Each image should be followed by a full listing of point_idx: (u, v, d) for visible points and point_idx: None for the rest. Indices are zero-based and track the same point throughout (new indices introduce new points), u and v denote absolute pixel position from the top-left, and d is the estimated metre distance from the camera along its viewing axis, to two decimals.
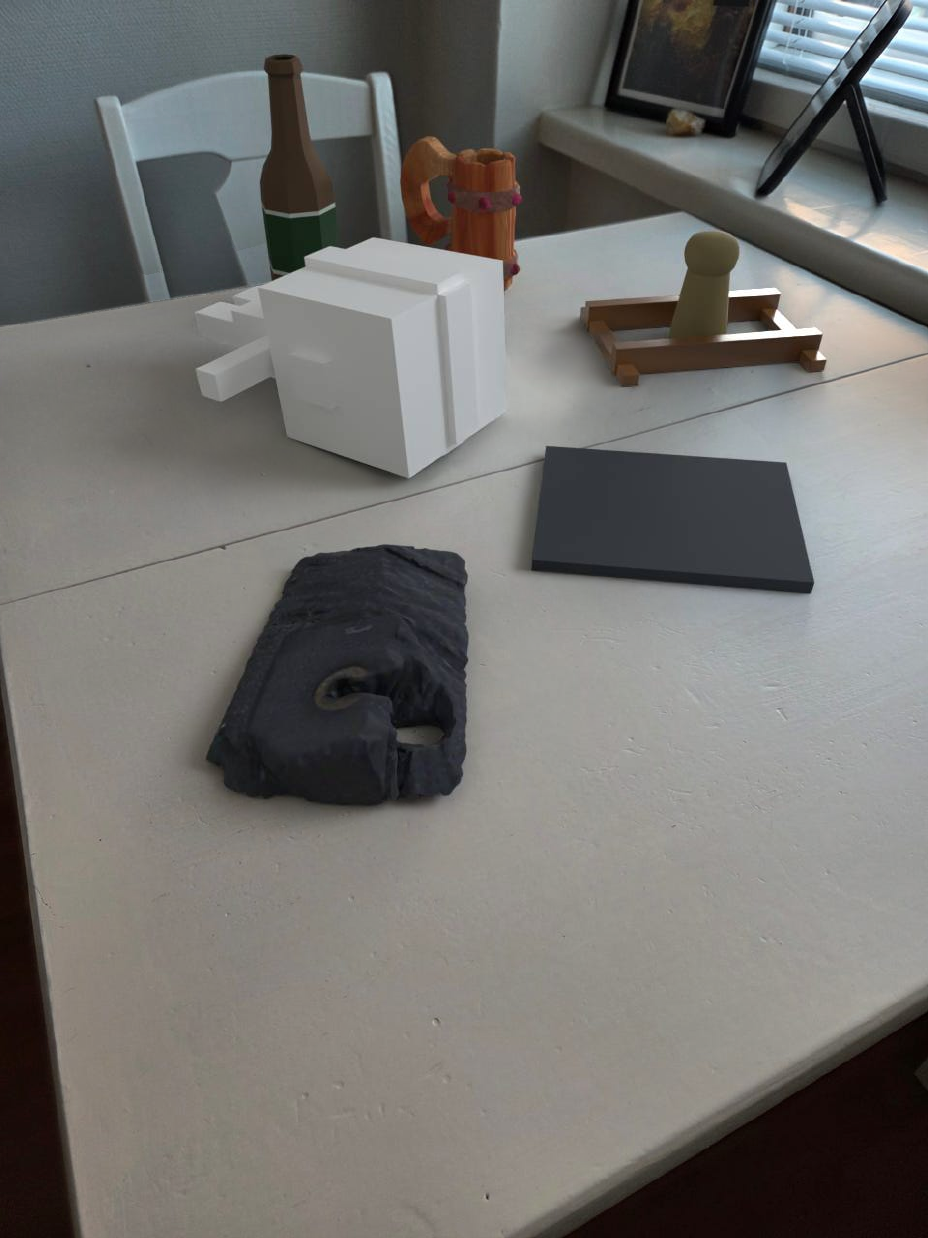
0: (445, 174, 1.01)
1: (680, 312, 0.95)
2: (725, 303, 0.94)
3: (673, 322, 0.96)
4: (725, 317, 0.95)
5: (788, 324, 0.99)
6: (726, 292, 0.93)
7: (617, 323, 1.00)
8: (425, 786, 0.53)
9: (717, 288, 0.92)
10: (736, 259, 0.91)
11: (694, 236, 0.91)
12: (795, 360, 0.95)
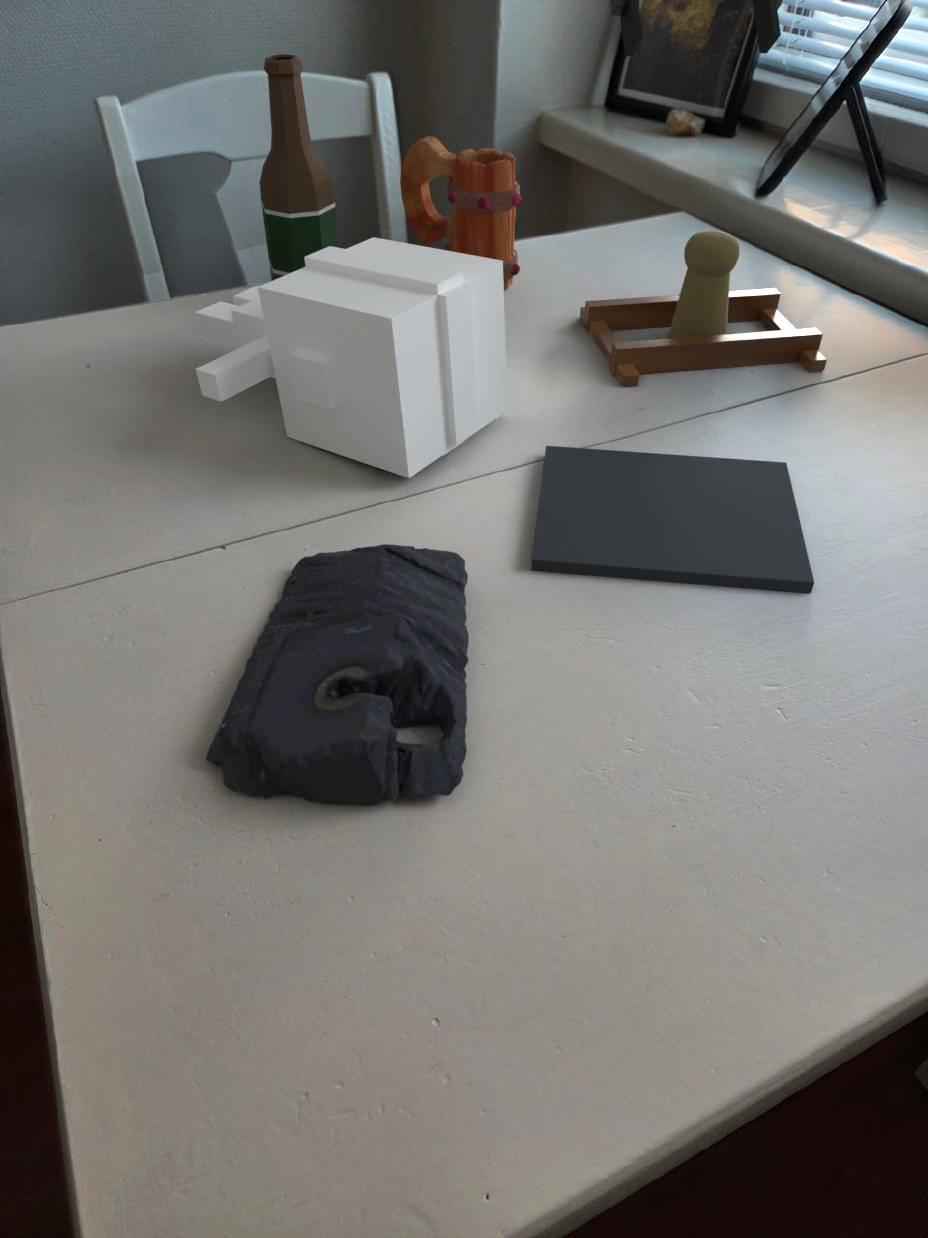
0: (445, 174, 1.01)
1: (680, 312, 0.95)
2: (725, 303, 0.94)
3: (673, 322, 0.96)
4: (725, 317, 0.95)
5: (788, 324, 0.99)
6: (726, 292, 0.93)
7: (617, 323, 1.00)
8: (425, 786, 0.53)
9: (717, 288, 0.92)
10: (736, 259, 0.91)
11: (694, 236, 0.91)
12: (795, 360, 0.95)
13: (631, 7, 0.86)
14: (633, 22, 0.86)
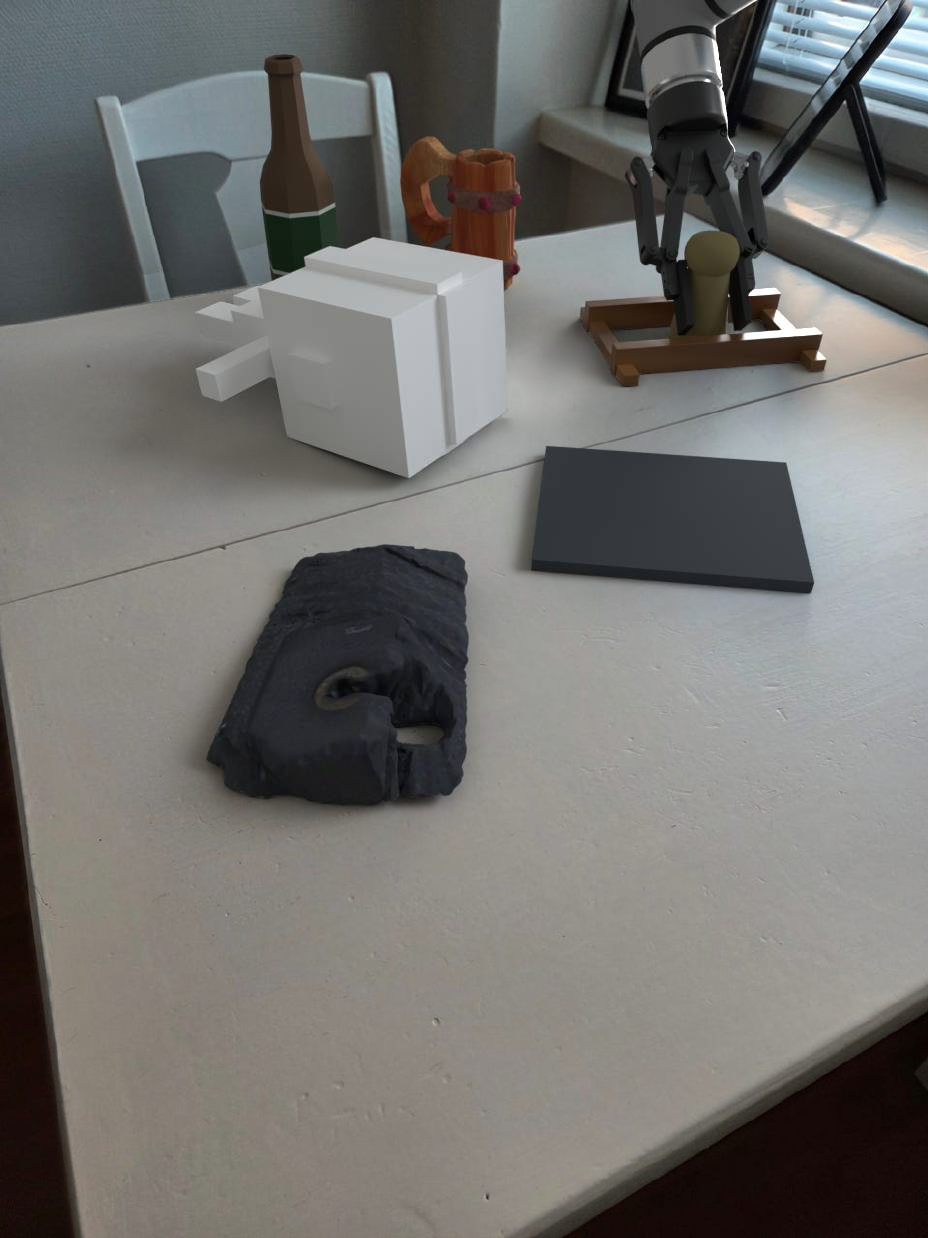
0: (445, 174, 1.01)
1: None
2: (725, 303, 0.94)
3: (673, 322, 0.96)
4: (725, 317, 0.95)
5: (788, 324, 0.99)
6: (726, 292, 0.93)
7: (617, 323, 1.00)
8: (425, 786, 0.53)
9: (717, 288, 0.92)
10: (736, 259, 0.91)
11: (694, 236, 0.91)
12: (795, 360, 0.95)
13: (683, 297, 0.92)
14: (685, 311, 0.91)
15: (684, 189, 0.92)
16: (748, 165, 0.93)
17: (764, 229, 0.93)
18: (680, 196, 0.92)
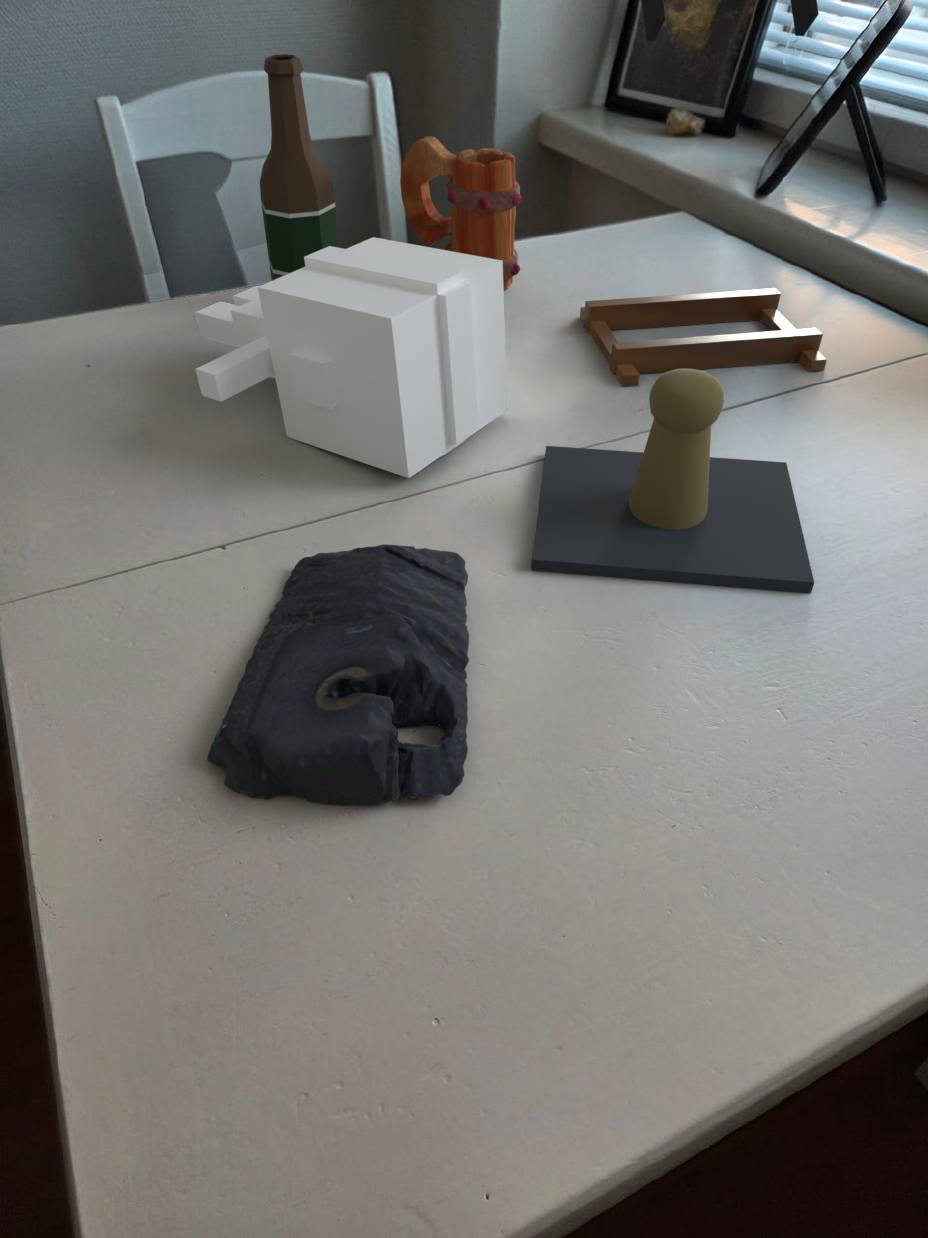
0: (445, 174, 1.01)
1: (645, 473, 0.71)
2: (705, 463, 0.70)
3: (636, 483, 0.72)
4: (705, 480, 0.71)
5: (788, 324, 0.99)
6: (706, 450, 0.69)
7: (617, 323, 1.00)
8: (426, 786, 0.53)
9: (694, 448, 0.68)
10: (719, 411, 0.67)
11: (662, 379, 0.67)
12: (795, 360, 0.95)
13: None
14: (654, 3, 0.79)
15: None
16: None
17: None
18: None
